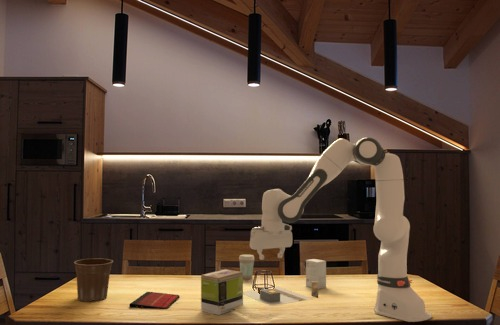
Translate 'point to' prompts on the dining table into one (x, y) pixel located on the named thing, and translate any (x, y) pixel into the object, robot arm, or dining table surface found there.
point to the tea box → (221, 291)
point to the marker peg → (314, 289)
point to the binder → (154, 300)
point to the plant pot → (92, 278)
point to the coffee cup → (246, 265)
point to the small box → (316, 272)
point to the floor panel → (285, 296)
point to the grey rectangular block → (270, 295)
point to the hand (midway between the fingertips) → (270, 258)
